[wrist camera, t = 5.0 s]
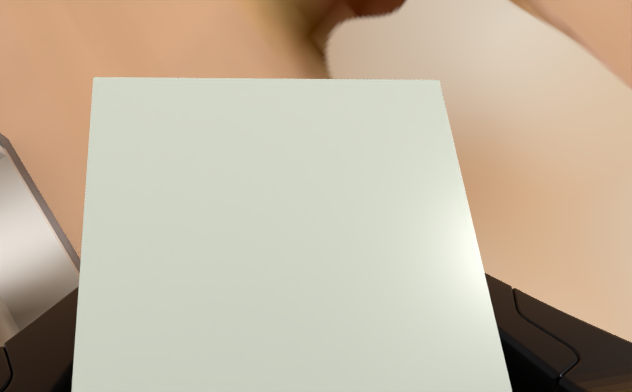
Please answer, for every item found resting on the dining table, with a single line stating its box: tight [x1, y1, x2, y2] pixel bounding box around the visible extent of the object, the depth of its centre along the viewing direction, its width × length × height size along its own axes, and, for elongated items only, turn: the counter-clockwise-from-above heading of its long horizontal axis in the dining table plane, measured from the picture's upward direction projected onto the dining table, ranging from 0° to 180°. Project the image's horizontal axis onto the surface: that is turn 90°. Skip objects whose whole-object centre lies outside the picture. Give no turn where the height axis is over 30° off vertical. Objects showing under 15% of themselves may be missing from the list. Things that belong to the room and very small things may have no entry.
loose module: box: [71, 77, 512, 392], centre depth 9 cm, size 6×4×11 cm
